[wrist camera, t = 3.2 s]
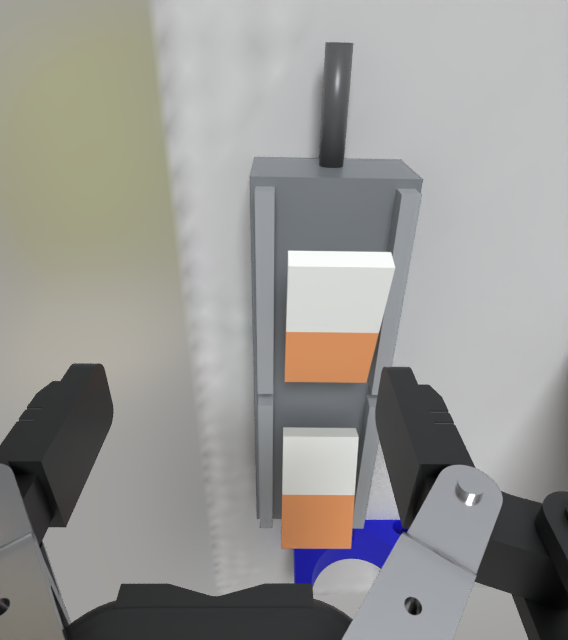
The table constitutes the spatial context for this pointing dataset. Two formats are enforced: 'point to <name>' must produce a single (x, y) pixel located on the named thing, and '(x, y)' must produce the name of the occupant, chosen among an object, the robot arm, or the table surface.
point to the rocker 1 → (334, 313)
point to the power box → (323, 235)
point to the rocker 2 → (318, 487)
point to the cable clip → (350, 550)
